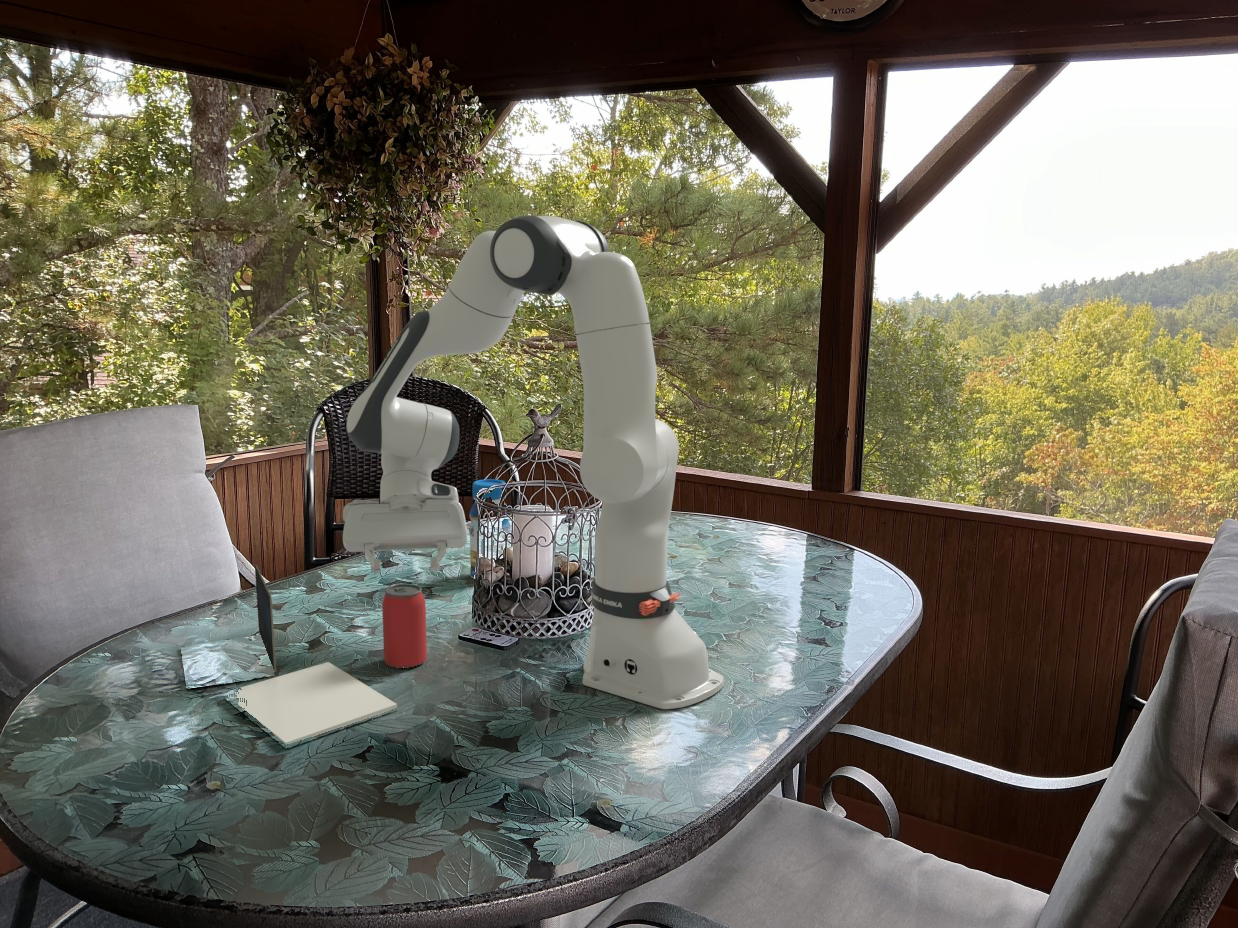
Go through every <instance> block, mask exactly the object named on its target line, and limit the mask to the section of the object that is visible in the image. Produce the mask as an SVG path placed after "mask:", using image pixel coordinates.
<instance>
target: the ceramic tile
mask: <svg viewBox="0 0 1238 928" xmlns="http://www.w3.org/2000/svg"><path fill="white" fill-rule="evenodd" d="M240 688H241V689H242V690H240V689H239V690H238V692H239V694H238V692H237V694H236V692H235V694H236V695H237V698H239V702H238V705H239V706H240V707H242V708H245V709H244V710H245V711H247V712H248V713H249V714H250V715H252V716H253V717H254V718H256V719H257V720H258V721H259V722H260V723H261V724H262V725H263V726H265V727H266V728H268V730H270V732H272V733H273V734H274V735H275V736H277V737H278V738H279V739H280V740H281V741H282V742H283V743H285V744H286V745H287V744H291V743H293V742H297V741H300V740H304V739H306V738H309V737H314V736H317V735H319V734H322V733H325V732H328V731H331V730H334V729H337V728H340V727H344V726H347V725H350V724H352V723H355V722H358V721H362V720H364V719H367V718H371V717H373V716H376V715H380V714H382V713H384V712H387V711H390V710H392V709H395V708H397V709H398V703H396V702H394V701H393V700H392V699H389V698H388V697H386V696H385V695H383V694H381V693H380V692H378V691H376V690H375V689H373V688H371V687H370V686H368V685H367V684H365V683H364V682H362V681H361V680H358V679H357V678H355V677H354V676H352V675H350V674H349V673H347V672H346V671H344V670H342V669H341V668H339V667H337V666H336V665H334V664H333V663H331V662H329V661H326V662H323V663H319V664H316V665H313V666H310V667H307V668H303V669H300V670H296V671H293V672H290V673H285V674H281V675H280V676H274V677H271V678H269V679H268V678H267V679H265V680H262V681H258V682H256V683H252V684H248V685H244V686H241V687H240ZM226 695H227V694H226ZM228 697H229V694H228ZM229 698H234V697H231V695H230V697H229ZM235 698H236V697H235ZM240 698H241V702H240ZM242 698H243V702H242ZM244 698H245V703H244ZM246 700H247V706H246Z"/></svg>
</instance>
